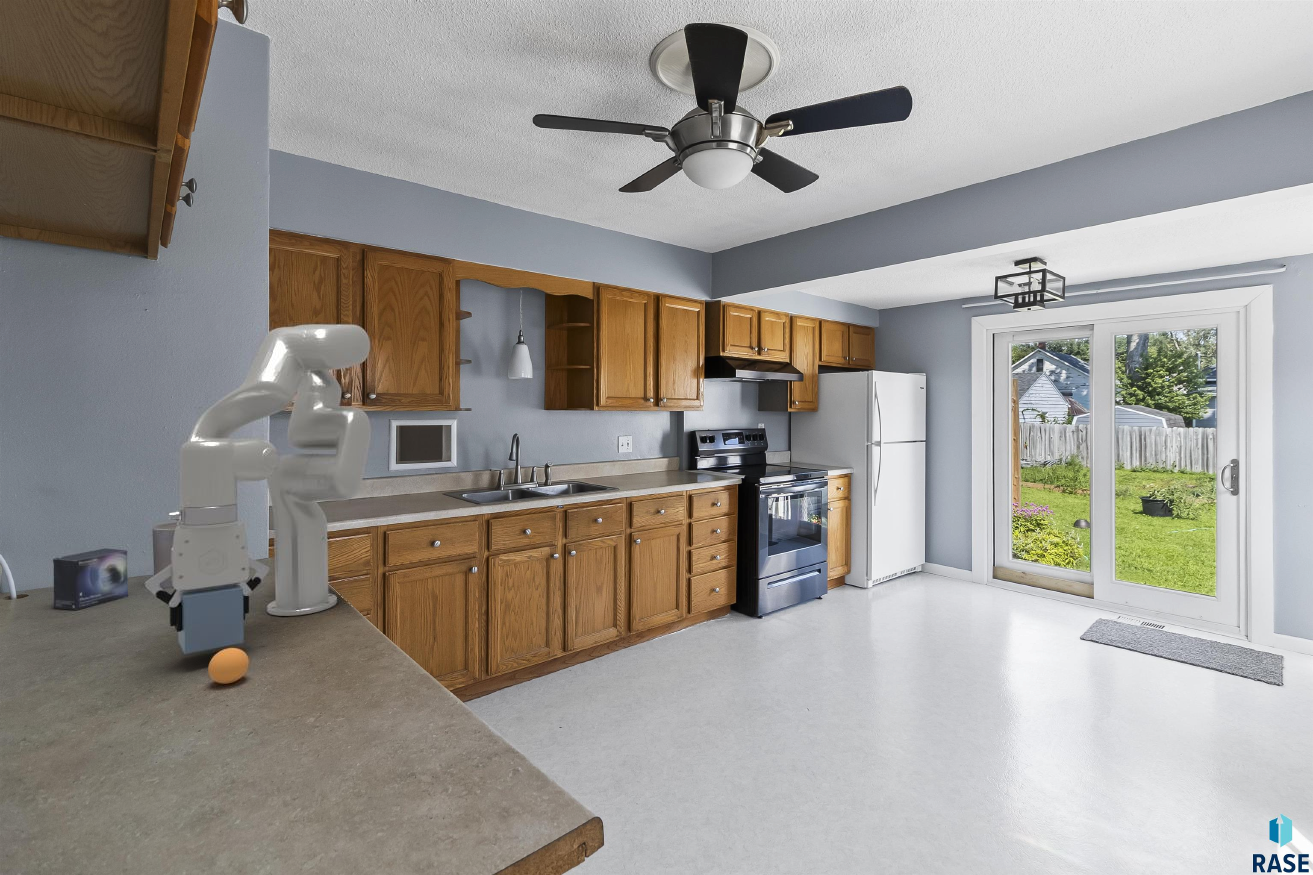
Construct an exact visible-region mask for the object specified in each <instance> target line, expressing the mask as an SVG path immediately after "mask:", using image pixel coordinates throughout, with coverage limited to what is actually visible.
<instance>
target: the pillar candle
mask: <svg viewBox="0 0 1313 875" xmlns="http://www.w3.org/2000/svg"><path fill="white" fill-rule="evenodd" d="M178 526H181V523H180V522H179V521H176V522H170V523H163V524H158V525H154V526H153V527H152V529H151V530H152V551H153V552H152V553H153V554H152V555H153V556H152V557H153V576H155V575H156V574H158V573H159V572H160V571H162V570H163V569H165V568H166V567H168V566H169V565H171V553H172V545H173V538H174V533H175V529H176V527H178ZM159 586H160V587H161V588H162V589H172V588H173V589H174V587H173V585H172V583H171V578H170V577H168V578H167V579H165V580H164V581H162V582H161V583H160V584H159Z"/></svg>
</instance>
